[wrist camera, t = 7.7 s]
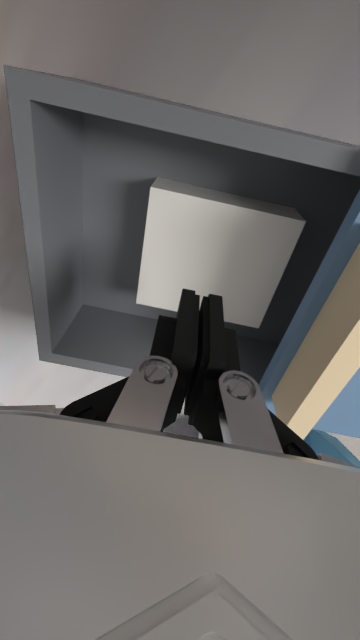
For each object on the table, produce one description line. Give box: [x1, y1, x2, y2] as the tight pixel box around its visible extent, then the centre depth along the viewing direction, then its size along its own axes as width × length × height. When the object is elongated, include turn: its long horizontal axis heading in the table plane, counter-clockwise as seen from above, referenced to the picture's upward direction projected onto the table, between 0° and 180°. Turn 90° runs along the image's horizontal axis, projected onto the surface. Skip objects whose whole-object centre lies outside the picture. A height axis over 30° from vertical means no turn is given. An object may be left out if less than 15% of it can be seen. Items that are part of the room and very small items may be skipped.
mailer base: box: [4, 65, 360, 385], centre depth 17 cm, size 18×14×6 cm
